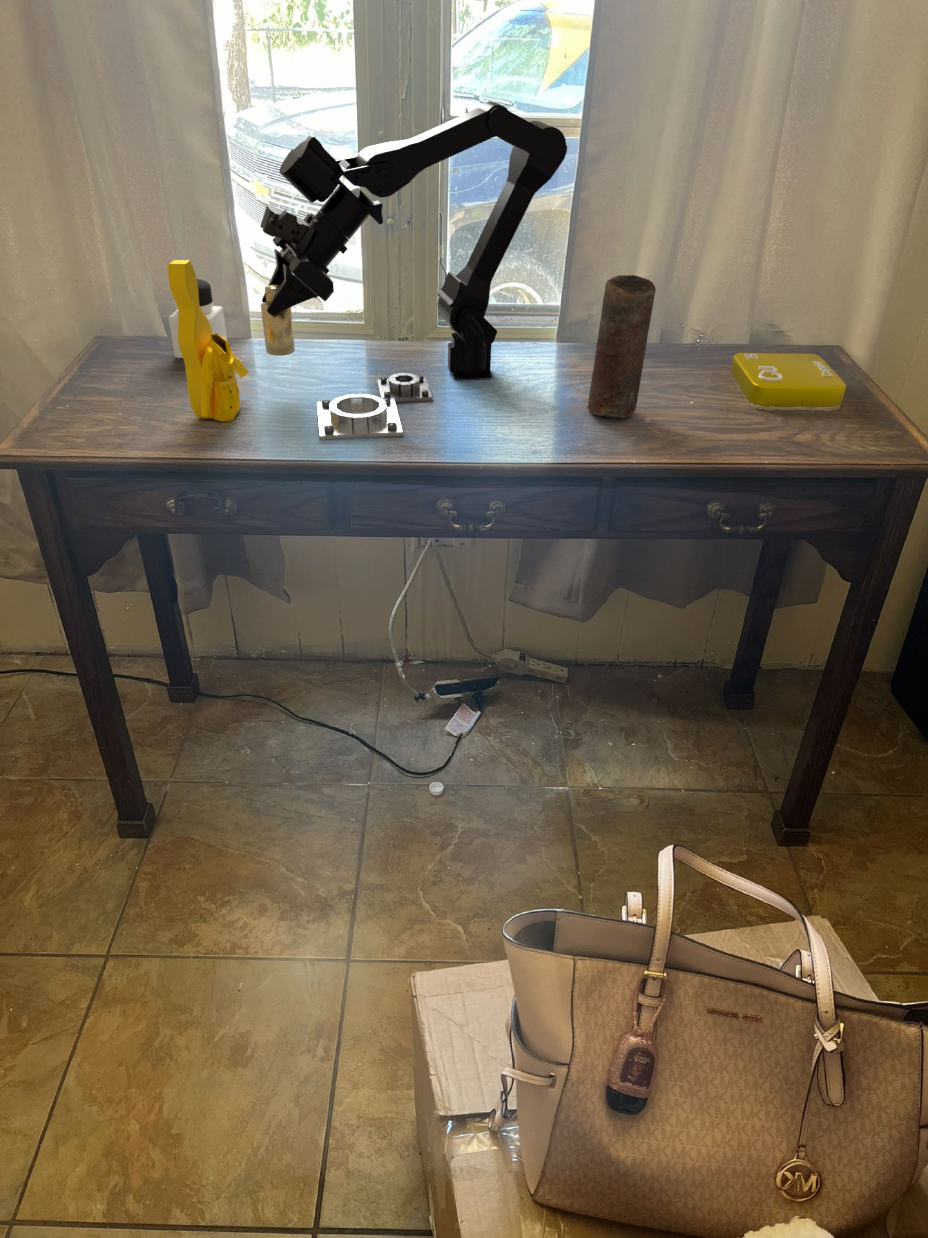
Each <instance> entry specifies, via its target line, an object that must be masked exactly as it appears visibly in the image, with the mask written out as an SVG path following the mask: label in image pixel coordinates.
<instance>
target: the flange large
mask: <svg viewBox="0 0 928 1238" xmlns="http://www.w3.org/2000/svg"><path fill="white" fill-rule="evenodd" d="M396 403H397V402H395V399H390V398H388V397H385V398H382V399H381V398H380V396H376V395H373V394H366V393H364V394H363V393H358V394H357V393H356V394H355V393H352V394H344V395H343V396H339V397H336V398H334V399H333V400H332V401H331V400H329V399H324V400H321V401H317V402H316V405H317V419H318V430H319V440H320V441H321V440H323V441H324V440H342V439H363V438H380V437H381V438H382V437H385V438H386V437H400V436H401V437H402V436H404V432H403V428H402V427H403V426H402V424H401V420H400V416H399V412H398V408H397V404H396Z"/></svg>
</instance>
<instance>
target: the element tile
mask: <svg viewBox="0 0 928 1238" xmlns="http://www.w3.org/2000/svg"><path fill="white" fill-rule="evenodd" d="M732 358H733V359H732V362H731V367H730V372H731V374H732V376H733V377H734V379H735V380H736V382H737V384H738V385H739V387H740V389H741V391H742V392H743V393H744V394H745V396H746V398H747V400H748V401H749V402H750V403H753V404H754V405H759V406H764V407H769V406H770V407H771V406H772V407H773V406H774V407H798V406H799V407H800V406H801V407H803V406H804V407H805V406H806V407H807V406H808V407H809V406H810V407H833V406H838V405H841V406H842V402H843V398H844V396H845V392H846V388H847V385H846V383H845V382H844V380H842V378H841V377H840V376H839V375H838V374H837V373H836V372H835V371H834V370H833V368H832V367H831V366H830V365H829V364H828V363H827V362H826V361H825V360H824V359H823V358H822V357H820V356H819V355H818V354H815V353H785V352H784V353H782V352H781V353H779V352H778V353H772V352H768V353H767V352H764V353H763V352H737V353H736V354H734V356H733V357H732Z"/></svg>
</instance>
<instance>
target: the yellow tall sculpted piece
mask: <svg viewBox="0 0 928 1238" xmlns="http://www.w3.org/2000/svg"><path fill="white" fill-rule="evenodd" d="M167 274H168V285H169V288H170V291H171V295H172V297H173V300H174V302H175V305H176V304H177V306H178V311H179V320H178V343H179V347H180V351H181V354H182V356H183V361H184V367H185V375H186V384H187V386H186V387H187V391H188V392H187V393H188V398H189V402H190V407H191V408H192V411H193V414H194V416H195V417H196V418H197V419H202V420H206V419H213V420H217V421H219V422H230V421H233V420H234V419H235V418H236V417H237V414H238V413H239V412H240V409H241V398H240V389H239V384H238V381H237V379H236V378H237V377H236V374H237V375H238V376H239V378H240V379H241V378H244V377H246V376H247V375H248V374H249V370H248V368H247V367H246V366H245V365H244V364H243V362H242V361H241V360H240V359H239V358H238V357H237V356H236V355H235V353H234V351H233V350H232V348H231V346H232V344H231V343H230V342H229V340H228V338H227V339H225V338H223V337H221V336H220V335H218V334H212V329H211V326H210V323H209V321H208V320H207V318H206V317H205V315H204V313H203V312H202V310H201V308H200V305H199V294H198V283H197V279H198V277H197V275H196V272H195V269H194V266H193V264H192V262H191V260H190V259H173V260H172V261H171V262H169V263H167Z"/></svg>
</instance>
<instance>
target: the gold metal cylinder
mask: <svg viewBox="0 0 928 1238" xmlns="http://www.w3.org/2000/svg"><path fill="white" fill-rule="evenodd" d="M279 287H280V285H270V286H268V285H266V286H265V287H264V291H265V292H264V294H265V293H266V302H261V304H260V309H261V310H260V311H261V319H262V320H261V321H262V327H263V336H264V345H265V352H266V353H267V354H268V355H271V356H280V357H281V356H287V355H291V354H293V353H295V351H296V349H295V348H296V347H295V346H296V345H295V336H294V327H293V315H292V307H290V308H288V309H286V310H284V311H281V312H279V313H277V314H275V315H270V314H269V313H268V312H267V308H268V306H269V304H270V303H271V301H272V299H273V297H274V296H275V294H276V292H277V291H278V289H279Z"/></svg>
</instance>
